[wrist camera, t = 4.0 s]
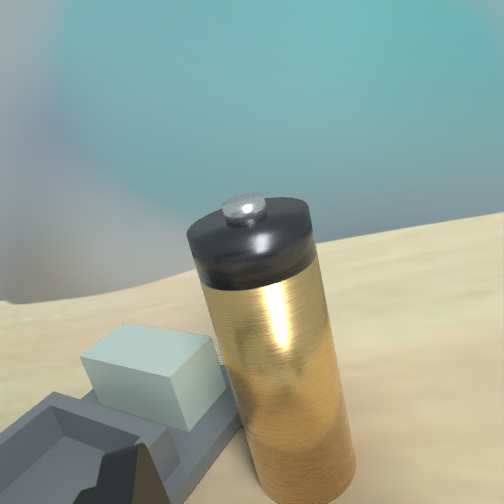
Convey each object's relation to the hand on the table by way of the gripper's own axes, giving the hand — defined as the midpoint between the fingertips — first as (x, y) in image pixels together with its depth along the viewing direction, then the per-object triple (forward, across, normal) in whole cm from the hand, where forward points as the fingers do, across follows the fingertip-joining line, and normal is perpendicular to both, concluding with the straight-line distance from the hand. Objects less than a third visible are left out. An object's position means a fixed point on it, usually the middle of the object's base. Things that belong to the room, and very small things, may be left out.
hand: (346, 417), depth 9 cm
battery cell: (+12, 0, +13) cm, 17 cm away
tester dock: (+15, +12, +13) cm, 23 cm away
